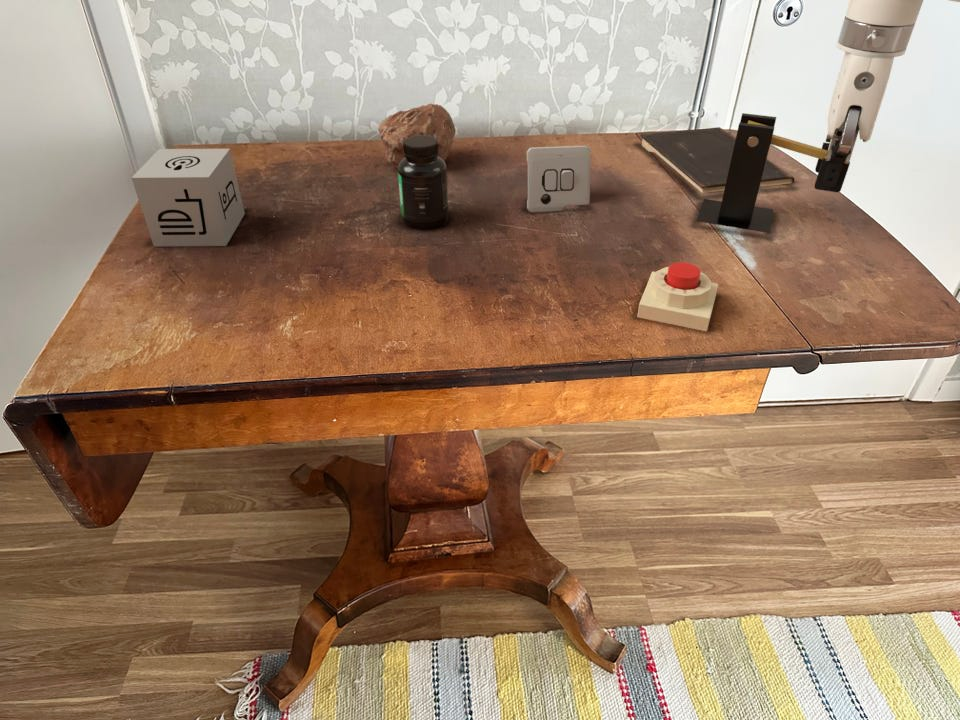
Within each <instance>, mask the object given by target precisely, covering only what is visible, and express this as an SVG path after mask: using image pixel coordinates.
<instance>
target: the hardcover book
mask: <svg viewBox="0 0 960 720" xmlns="http://www.w3.org/2000/svg"><path fill="white" fill-rule="evenodd" d="M639 137H640V138H641V139H642V140H641V145H640V146H641V148H643V149H644V150H645V151H646V152H649V153H655V154H656V155H657V156H658V157H660V158H661V159H662V160H663V161H664V162H666V163H667V164H668V165H669V166H670V167H671V168H672V169H674V170H675V171H676V172H677V173H678V174H679V175H681V176H682V177H683V178H684V180H686V181H687V182H689V183H690V184H691V185H692V186H694V188H695V189H697V190H698V191H699V192H700V193H702V194H707V193H715V192H716V193H717V192H724V189H725V185H726V180H727V176H728V171H729V167H730V162H731V158H732V153H733V149H734V144H735V140H736V136H733V134H731V133H729V132H728V131H726V130H724V128H722V127H720V126H718V127H706V128H697V129H686V130H685V129H684V130H675V131H664V132H663V131H662V132H653V133H642V134H640V135H639ZM794 183H795V177H794V176H792V175H791V174H790V173H788V172H787V171H785V170H784V169H782V168H780V167H779V166H778V165H776V164H775V163H774V162H772V161H771V160H770V159H768V158H767V159H766V163H765V167H764V171H763V175H762V179H761V183H760V187H759V188H761V187H769V186H778V185H788V184H789V185H790V184H794Z"/></svg>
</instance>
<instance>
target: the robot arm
mask: <svg viewBox="0 0 960 720" xmlns="http://www.w3.org/2000/svg"><path fill="white" fill-rule="evenodd" d="M948 1H949V2H954V3H955V2H956V3H960V0H948ZM923 4H924V0H849V2H848V6H847V9H846V12H845V16H844V18H843V22H842V25H841V29H840V32H839V35H838V39H837V42H836V48H837V49H839V50H840V51H843V52H844V55H843V57H842V61H841V64H840V67H839V71H838V74H837V77H836V80H835V85H834V88H833V92H832V96H831V100H830V105H829V110H828V114H827V135H826V137H825V141H824V142H823V143H822V146H821V149H824V150H828V151H827V155H826V159H825V158H823V160H822V159H819V158H817V162H816V165H815V172H816V173H817V176H816V179H815V182H814V189H815V190H817V191H825V192H830V193H831V192H832V193H841V191H842V188H843V185H844V182H845V179H846V176H847V174H848V170H849V167H850V164H851V157H852V154H853V151H854V148H855V145H856V142H857V138H858V134H859V140H862V142H863V143H866V142H868V141H870V140H871V137H872V136H873V135H872V134H873V131H874V128H875V124H876V122H877V119H878V115H879V112H880V109H881V105H882V103H883V99H884V96H885V93H886V89H887V86H888V83H889V79H890V76H891V72H892V68H893V64H894V60H895V58H897V57H902V56H903V55H905V53H906V51H907V47H908V45H909V43H910V40H911V36H912V35H913V31H914V29H915V25H916V22H917V19H918V17H919V14H920V11H921V9H922V6H923Z"/></svg>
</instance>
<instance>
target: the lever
mask: <svg viewBox="0 0 960 720" xmlns="http://www.w3.org/2000/svg"><path fill="white" fill-rule="evenodd" d="M747 124H756V125H763V124H760V123H757V122H753V121H750V120H749V121H748V123H747ZM764 126H767V125H764ZM771 145H772V146H776V147H778V148H782V149H785V150H788V151H792V152H795V153H799V154H802V155H806V156H808V157H812V158H816V159H818V158H819V159H822V160H823V158H825V159H826V155H827V151H828V150H824V149H822V147H821V148H820V147H817V146H814V145H810V144H807V143H803V142H801V141H797V140H793V139H790V138H786V137H783V136H780V135H776V134H773V136H772V140H771V144H770V146H771Z"/></svg>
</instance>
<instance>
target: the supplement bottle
mask: <svg viewBox="0 0 960 720" xmlns="http://www.w3.org/2000/svg"><path fill="white" fill-rule="evenodd" d="M403 155H404V157H405V158H403V159H402V160H401V161H400V163H399V165H398V169H397V180H398V181H397V182H398V192H399V204H400V215H401V222H402V224H403V225H404V226H405V227H407V228H409V229H412V230H418V231H428V230H436V229H438V228H441V227H443V226H445V225H446V224H447V223H448V221H449V196H448V193H449V192H448V169H447V167H448V166H447V164H446V161H444V160H443V159H442V158H440V157H439V156H438V155H439V145H438V140H437V138H435V137H432V136H427V135H417V136H411V137H408V138H406V139H405V140H404V141H403Z"/></svg>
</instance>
